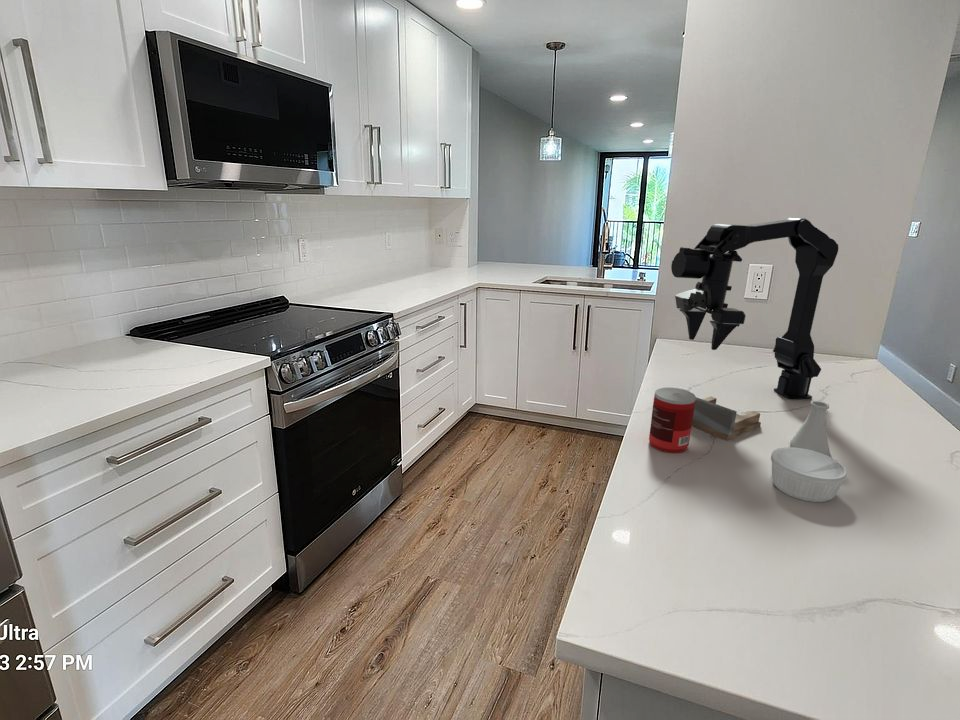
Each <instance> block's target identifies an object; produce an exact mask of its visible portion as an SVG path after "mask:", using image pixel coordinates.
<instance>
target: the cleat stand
mask: <svg viewBox="0 0 960 720" xmlns="http://www.w3.org/2000/svg"><path fill="white" fill-rule="evenodd" d="M717 399H718V398H717V397H714V396H708V397H705V398H699V397H696V401H695V408H694V414H693V421H692V427H693V428H695V429H698V430H700V431H703V432H705V433H707V434H710V435H712V436H715V437H718V438H719V439H723V440H725V441H728V440H731V439H733V438H735V437H738V436H740V435H743V434H745V433H749V432H750V431H753V430H755V429H758V428H760V427H761V424H762V422H760V416H761V413H760V412H758V411H754V410H753V411H750V412H748V413H747V412H746V413H745V414H741V415H740V414H738V413H737V412H738V411H736V410H733V409H731V408H728V407H725V406H723V405H719V404H717ZM692 427H691V428H692Z"/></svg>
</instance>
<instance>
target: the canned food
mask: <svg viewBox="0 0 960 720" xmlns="http://www.w3.org/2000/svg"><path fill="white" fill-rule="evenodd" d="M695 401H696V395H695V394H694V393H693V392H691V391H690V390H687V389H683V388H679V387H660V388H656V390H655V391H654V397H653V404H652V412H651V419H650V428H649V434H648V435H649V437H648V440H649V444H650V445H651V447H652V448H655V450H658V451H661V452H664V453H669V454H677V453H683V452H685V451H686V450H687V449H688V447H689V446H690V439H691V433H692V421H693V414H694V408H695Z"/></svg>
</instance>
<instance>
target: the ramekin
mask: <svg viewBox="0 0 960 720" xmlns="http://www.w3.org/2000/svg"><path fill="white" fill-rule="evenodd" d="M770 460H771V479H772V483H773V484H774V485H775V486H774V487H776V488H777V489H778V490H779V491H781V492H782V493H784V494H785V495H788V496H790V497H792V498H795V499H798V500H801V501H805V502H812V503H825V502H828V501H830V500H833V499H834V498H835V497H836V495H837V494H838V491H839V490H840V487H841V485H842V483H843V482H844V481H845V480H846V479H847V475H848V470H847V468H846V467H845V465H843V464H842V463H841V462H840V461H839V460H836V459H835V458H833V457H831V456H827V455H824V454H822V453H819V452H815V451H812V450H807V449H802V448H794V447H790V446H789V447H787V446H785V447H779V448H776V449H774V450H773V451H772V452H771V455H770Z"/></svg>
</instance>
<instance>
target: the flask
mask: <svg viewBox="0 0 960 720" xmlns="http://www.w3.org/2000/svg"><path fill="white" fill-rule="evenodd" d="M829 408H830V404H829V403H827V402H824V401H820V400H811V401H810V410H809V413H808V415H807V418H806V419H805V421H804V422H803V424H802V425H801V426H800V428H799V429H798V431H796V433H795V435H793V437H792V438H791V439H790V443H789V444H790V446H789V447H794V448H802V449H807V450H812V451H815V452H819V453H822V454H824V455H827V456H829V457H831V455H830V454H831V452H830V446H829V439H828V435H827V428H826V416H827V415H826V414H827V410H829Z"/></svg>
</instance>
